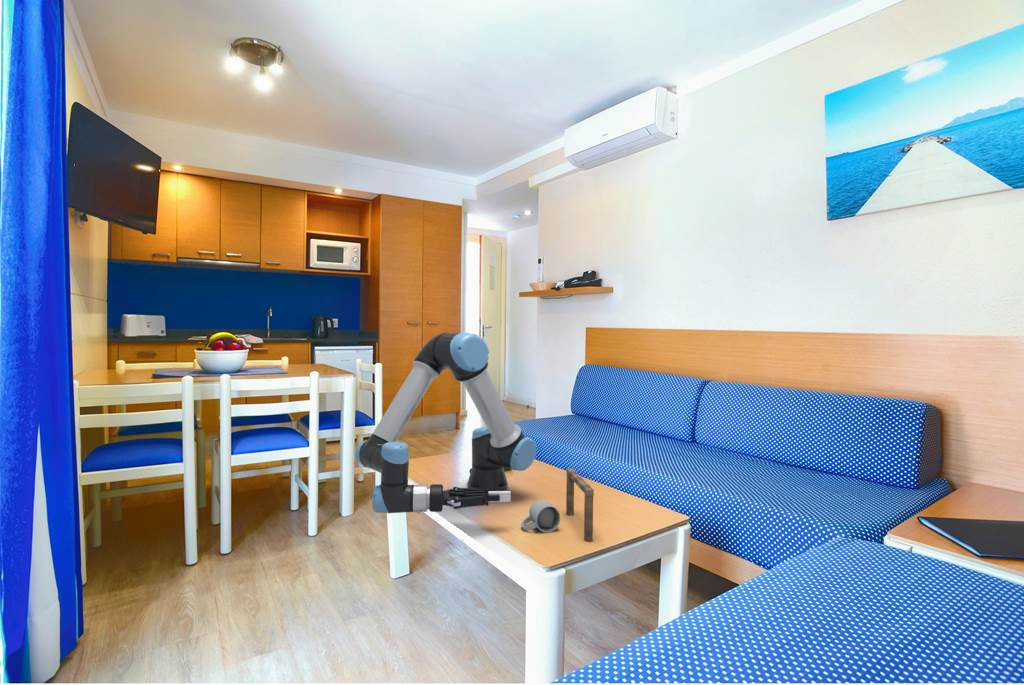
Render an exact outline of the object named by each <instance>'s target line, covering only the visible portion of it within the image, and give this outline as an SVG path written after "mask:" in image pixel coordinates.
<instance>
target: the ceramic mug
mask: <svg viewBox="0 0 1024 685" xmlns="http://www.w3.org/2000/svg"><path fill="white" fill-rule="evenodd" d="M528 512H529V514H528V516H527V517H526V518H525V519H523V520H522V521H521V523H520V524H521V528H522V531H525V532H529V531H533V530H534V529H536V528H537V530H539V531H540V532H541V533H552V532H554V531H556V529H557V528H558V526H559V525H560V522H561V513H560V511H559V509H558V507H555V506H554V505H553V504H551V503H549V502H547V501H546V500H536V501H535V502H533V503H532V504H531V505H530V507H529V511H528ZM531 522H532V523H531ZM528 523H531V524H528ZM527 524H528V525H527Z"/></svg>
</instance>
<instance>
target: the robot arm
mask: <svg viewBox="0 0 1024 685" xmlns="http://www.w3.org/2000/svg"><path fill="white" fill-rule="evenodd" d="M489 352H490V351H489V348H488V344H487V343H486V341H485V340H484V339H483V337H481V336H480V335H478V334H476V333H471V332H460V333H459V332H457V333H455V332H454V333H453V332H452V333H451V332H442V333H438V334H436V335H434V336H433V337H431V339H430V340H428V341H427V342H426V343H425V344H424V346H422V348H421V349H420V351H419V352H418V353H417V355H416V357H415V358H414V359H413V361H412V366H413V367H412V369H411V371H410V372H409V374H408V375H407V376H406V379H404V382H403V384H402V385H401V387H400V388H399V390H398V392H397V393H396V395H395V397H394V398H393V400H392V401H391V403H390V404H389V406H388V408H387V409H386V411H385V413H384V414H383V416H382V417H381V419H380V421H379V423H378V424H377V425H376V427H375V429H374V430H373V432H372V434H371V436H369V438H368V440H363V441H362V442H360V443H359V444H358V445H357V446H356V448H355V450H354V457H355V460H356V462H357V463H359V464H360V465H361V466H363V467H365V468H368V469H371V470H373V471H375V472H378V473H380V484H378V485H375V486H374V487H373V492H372V510H373V511H374V513H376V514H377V513H378V514H379V513H380V514H381V513H382V514H399V513H401V514H402V513H416V514H417V515H418V514H420V513H427V512H428V510H429V512H430V513H434V512H435V513H436V512H437V513H438V512H442V511H443V506H447V507H452V508H453V509H454V510H458V509H463V508H470V507H471V508H472V507H478V506H479V507H481V506H486V507H487V506H489V503H508V502H509V503H510V502H512V501H511V500H512V499H511V498H512V495H511V494H512V492H511V490H509V482H508V480H507V479H508V478H507V476H506V473H505V470H504V468H505V469H510V470H513V471H519V472H522V471H526V470H527V469H529V468H530V467H531V466H532V465H533V463H534V461H535V458H536V455H537V445H536V441H535V440H534V439H532V438H531V437H528V436H525V434H524V432H523V430H522V428H521V426H519V425H518V424H517V423H514V422H513V420H512V418H511V416H510V414H509V412H508V410H507V408H506V406H505V404H504V402H503V400H502V399H501V396H500V394H499V393H498V390H497V388H496V386H495V385H494V382H493V380H492V378H491V377H490V375H489V373H488V371H487V370H488V367H489V362H488V361H489V354H490V353H489ZM446 369H448V370H450V372H451V374H452V376H453V377H454V378H455V380H456V382H459V383H462V384H463V386H464V387H465V389H466V391H467V392H468V395H469V397H470V398H471V400H472V402H473V403H474V406H475V408H476V410H477V412H478V414H479V415H480V417H481V419H482V420H483V422H484V423H483V424H484V425H485V426H483V427H478V428H475V429H474V430H473V431H472V436H471V470H470V474H469V475H468V476H469V477H468V479H467V483H466V487H458V486H453V487H452V488H450V489H447V490H445V489H444V485H443V484H441V483H440V484H438V483H437V484H435V483H433V484H430V486H429V485H428V484H427V483H426V484H424V483H423V484H409V462H410V454H409V445H408V443H406V442H403V441H402V442H401V441H398V439H399V437H400V436H401V434H402V433H403V431H404V430H405V427H406V425H407V424H408V423H409V420H410V419H411V418H412V416H413V414H414V412H415V411H416V409H417V407H418V406H419V404H420V403H421V400H422V399H423V397H424V395H425V394H426V392H427V390H428V389H429V387H430V385H431V384H432V382H433V381H434V379H438V378H439V376H440V375H441V373H442V372H443V371H445V370H446Z"/></svg>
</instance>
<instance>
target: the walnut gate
mask: <svg viewBox="0 0 1024 685" xmlns="http://www.w3.org/2000/svg"><path fill="white" fill-rule="evenodd" d="M565 471H566V472H565V473H566V490H565V491H566V494H565V498H566V505H565V506H566V510H565V512H566V515H567V516H574V515H575V511H574V510H575V484H576V486H577V487H578V488H579V489H580V490H581V491H582V492H583V494H584V501H583V502H584V505H583V506H584V508H583V509H584V514H583V515H584V516H583V517H584V518H583V519H584V521H583V522H584V523H583V531H584V532H583V540H584V541H585V542H588V543H589V542H593V540H594V538H593V536H594V495H595V493H594V492H595V491H594V488H593V487H591V485H590V484H589V483H587V481H586V480H585V479H584V478H583V477H582V476H581V475H580V474H579V473H578V472H577V471H576V470H575V469H574V468H573V467H571V468H570V467H566V470H565Z"/></svg>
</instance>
